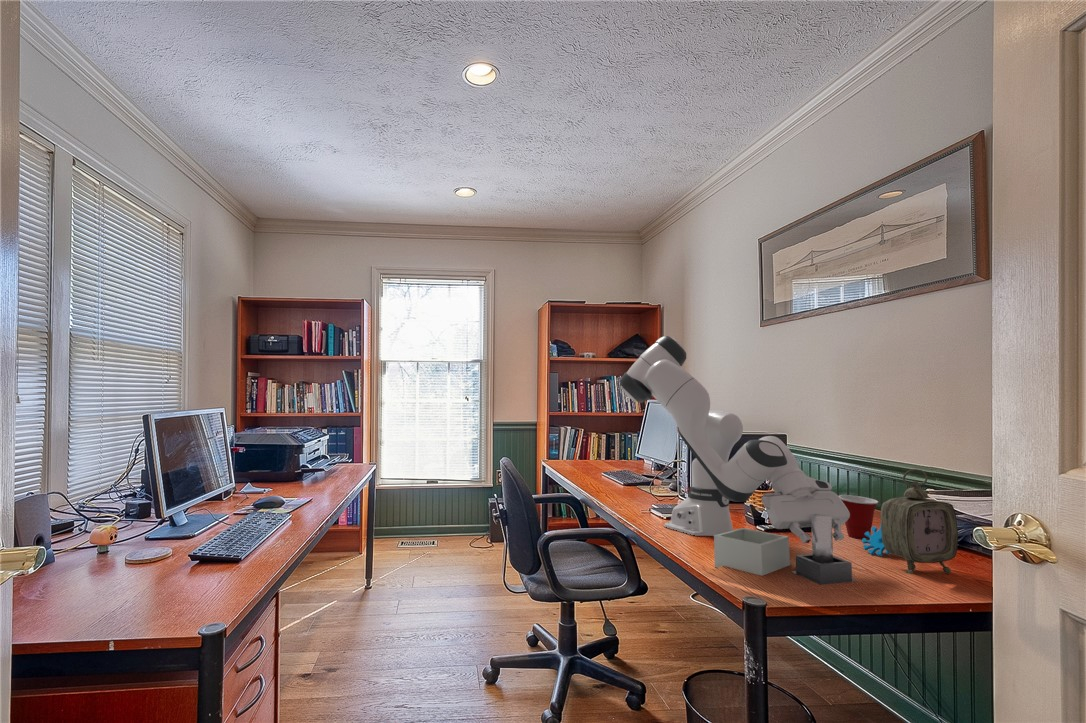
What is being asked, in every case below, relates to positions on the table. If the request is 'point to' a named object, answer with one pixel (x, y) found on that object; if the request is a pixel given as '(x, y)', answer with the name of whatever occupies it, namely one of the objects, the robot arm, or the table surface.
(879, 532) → the gear
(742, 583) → the table surface
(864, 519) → the plastic cup
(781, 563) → the bin
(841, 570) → the socket block
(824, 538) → the strut
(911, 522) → the tabletop clock
